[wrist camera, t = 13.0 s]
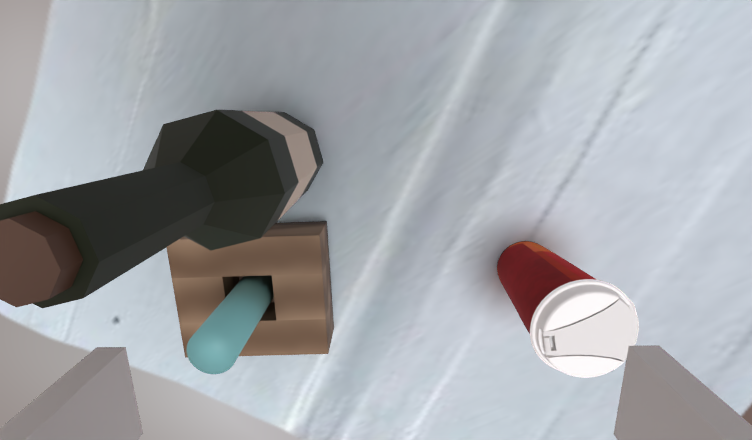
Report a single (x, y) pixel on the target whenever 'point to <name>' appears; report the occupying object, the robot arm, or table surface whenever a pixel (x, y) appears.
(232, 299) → the pin
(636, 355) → the robot arm
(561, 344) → the paper cup
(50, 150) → the table surface
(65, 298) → the wine bottle
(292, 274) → the bore block
